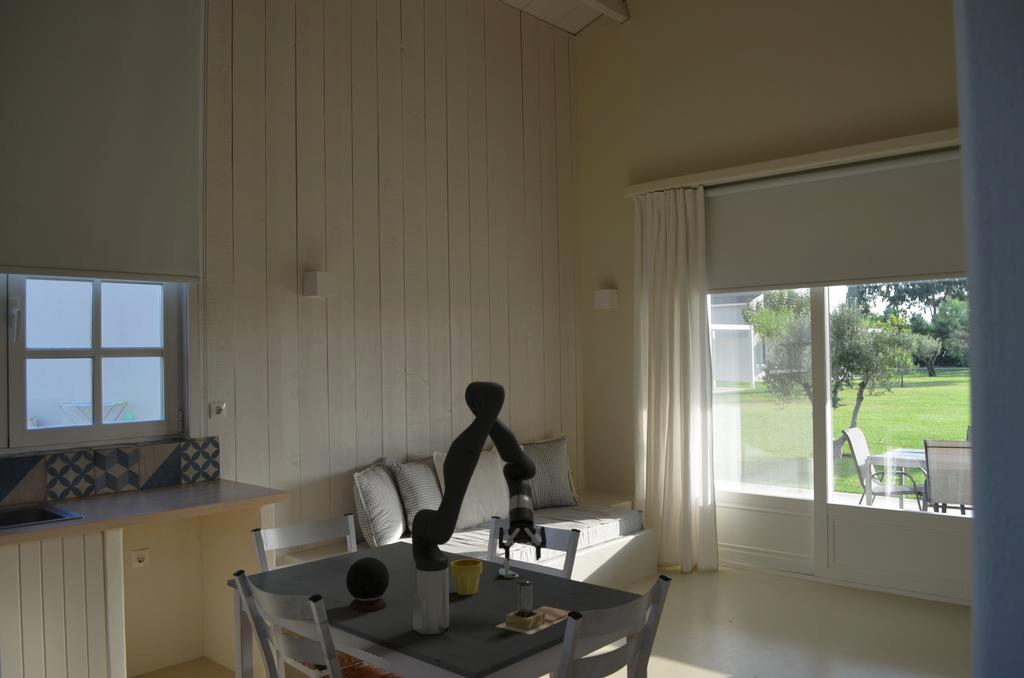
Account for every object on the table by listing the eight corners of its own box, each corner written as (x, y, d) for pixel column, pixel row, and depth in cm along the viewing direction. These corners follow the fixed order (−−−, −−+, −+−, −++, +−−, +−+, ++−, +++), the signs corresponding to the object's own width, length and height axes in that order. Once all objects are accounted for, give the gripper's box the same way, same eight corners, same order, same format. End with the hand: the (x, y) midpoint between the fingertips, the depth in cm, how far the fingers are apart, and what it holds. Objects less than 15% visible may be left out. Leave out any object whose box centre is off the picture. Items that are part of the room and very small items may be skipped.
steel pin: (523, 627, 222) (522, 584, 223) (515, 624, 226) (515, 580, 226) (535, 625, 225) (534, 581, 225) (527, 621, 228) (527, 578, 228)
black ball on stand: (347, 614, 240) (347, 564, 241) (344, 602, 253) (344, 554, 253) (391, 611, 244) (391, 561, 244) (386, 599, 256) (386, 551, 257)
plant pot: (444, 594, 261) (444, 564, 261) (461, 587, 270) (461, 557, 270) (472, 598, 256) (472, 567, 256) (488, 590, 265) (488, 560, 266)
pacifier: (510, 573, 288) (496, 575, 285) (511, 556, 288) (497, 557, 285) (522, 578, 282) (507, 580, 279) (522, 560, 282) (508, 561, 279)
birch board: (530, 639, 217) (529, 623, 217) (495, 630, 224) (495, 615, 224) (576, 617, 235) (576, 603, 235) (543, 610, 242) (543, 596, 242)
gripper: (498, 506, 246) (498, 552, 234) (544, 505, 246) (547, 551, 234) (498, 520, 251) (498, 566, 239) (543, 519, 251) (546, 565, 239)
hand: (523, 559), depth 236 cm, fingers open, 8 cm apart
